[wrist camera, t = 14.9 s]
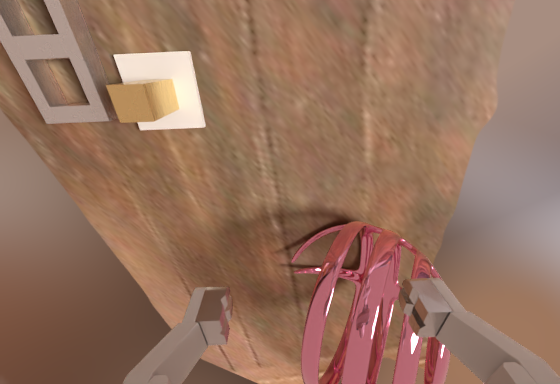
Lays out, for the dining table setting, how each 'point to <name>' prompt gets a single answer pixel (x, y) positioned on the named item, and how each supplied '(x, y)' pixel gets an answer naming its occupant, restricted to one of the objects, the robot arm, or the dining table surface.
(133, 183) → the dining table surface
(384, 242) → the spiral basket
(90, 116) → the rail
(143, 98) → the block
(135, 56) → the pad
